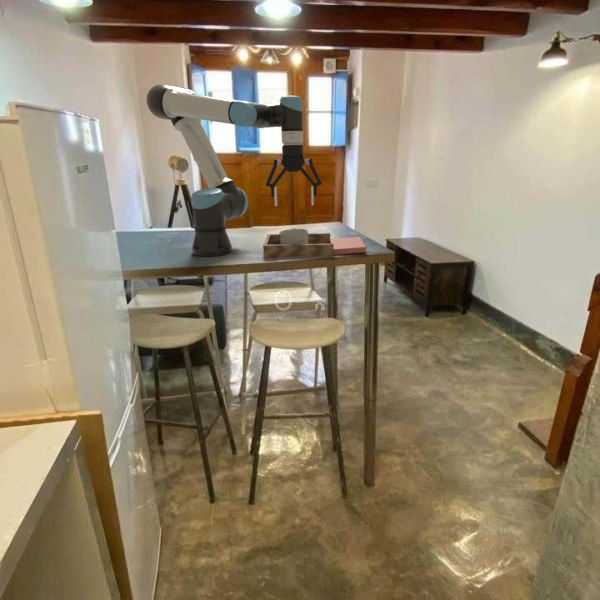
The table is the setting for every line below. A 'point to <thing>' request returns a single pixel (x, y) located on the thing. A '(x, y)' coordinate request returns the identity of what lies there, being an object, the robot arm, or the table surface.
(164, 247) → the table surface
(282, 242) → the teacup
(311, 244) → the crate
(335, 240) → the pink flat slab
